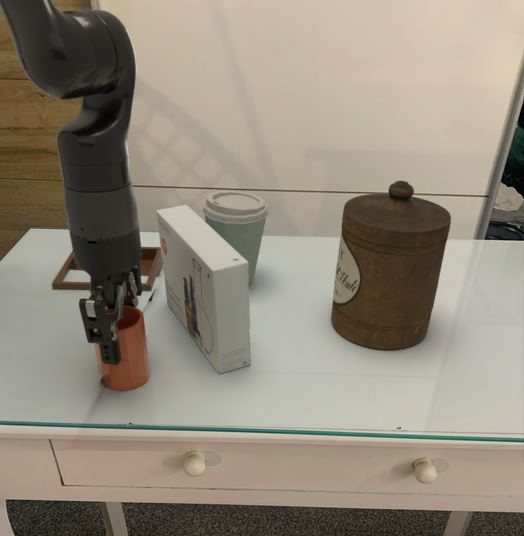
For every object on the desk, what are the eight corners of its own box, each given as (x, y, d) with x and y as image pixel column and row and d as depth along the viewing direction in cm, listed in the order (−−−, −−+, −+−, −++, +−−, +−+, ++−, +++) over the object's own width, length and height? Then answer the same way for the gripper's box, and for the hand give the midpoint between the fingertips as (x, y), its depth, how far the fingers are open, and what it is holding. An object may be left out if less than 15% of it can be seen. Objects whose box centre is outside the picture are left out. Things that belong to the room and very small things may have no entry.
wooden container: (337, 294, 93) (353, 161, 81) (428, 307, 90) (459, 172, 78) (322, 341, 81) (339, 194, 69) (426, 358, 79) (462, 208, 66)
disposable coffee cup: (237, 261, 102) (237, 181, 94) (279, 282, 96) (283, 198, 88) (192, 279, 96) (188, 195, 88) (234, 302, 90) (234, 214, 81)
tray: (54, 299, 89) (51, 283, 88) (78, 259, 101) (75, 245, 100) (151, 300, 90) (150, 285, 88) (163, 261, 102) (162, 247, 100)
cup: (93, 388, 71) (82, 329, 66) (110, 359, 76) (101, 302, 71) (141, 393, 70) (134, 333, 65) (155, 364, 76) (149, 307, 71)
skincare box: (163, 304, 89) (154, 208, 80) (194, 297, 91) (190, 203, 82) (215, 376, 74) (212, 268, 65) (251, 366, 76) (254, 260, 67)
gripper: (95, 197, 67) (112, 315, 77) (41, 246, 56) (70, 378, 65) (155, 202, 67) (165, 320, 76) (114, 252, 55) (132, 384, 64)
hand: (121, 346), depth 71 cm, fingers closed on cup, 6 cm apart
